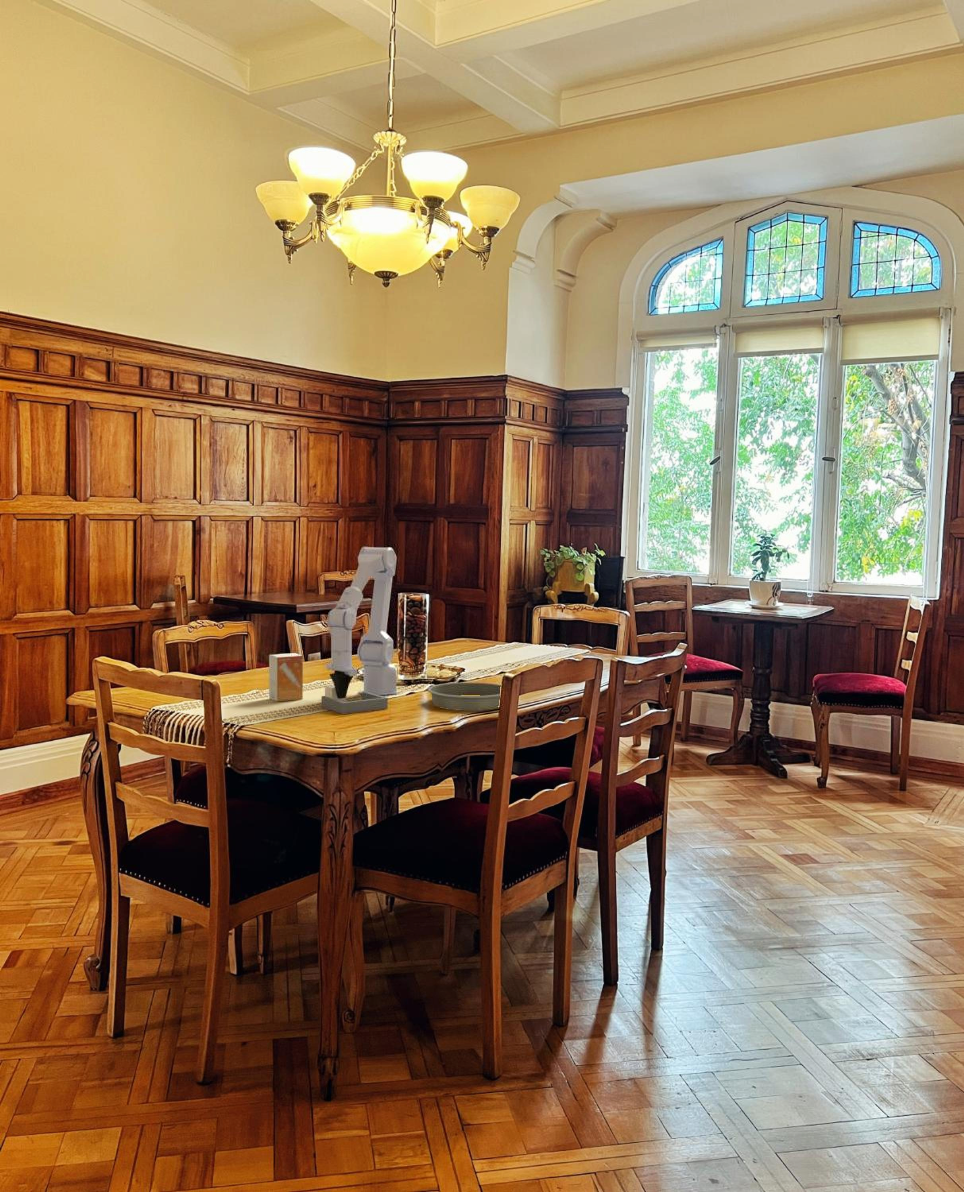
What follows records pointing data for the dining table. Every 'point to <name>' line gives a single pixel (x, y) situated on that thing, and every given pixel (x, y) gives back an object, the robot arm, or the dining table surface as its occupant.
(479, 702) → the cake pan
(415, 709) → the dining table surface
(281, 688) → the small box
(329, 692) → the ivory cube
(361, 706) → the gray tray
